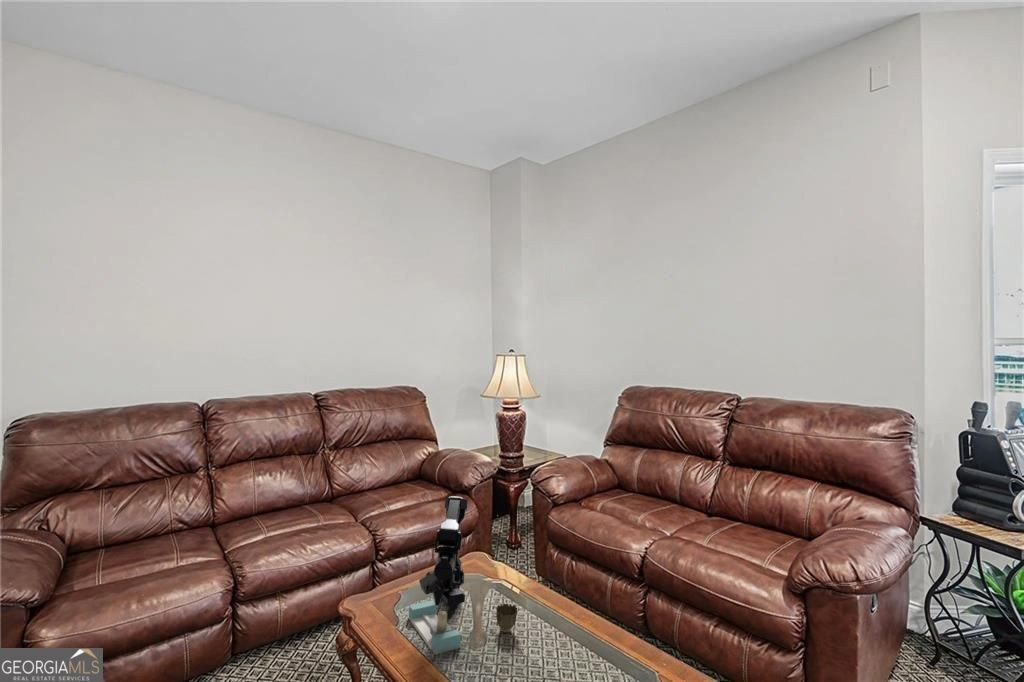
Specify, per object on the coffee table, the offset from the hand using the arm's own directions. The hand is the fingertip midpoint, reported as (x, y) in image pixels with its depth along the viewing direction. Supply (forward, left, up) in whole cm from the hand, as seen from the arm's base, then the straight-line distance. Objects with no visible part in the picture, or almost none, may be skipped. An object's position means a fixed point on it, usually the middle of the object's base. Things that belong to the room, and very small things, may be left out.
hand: (442, 612), depth 173 cm
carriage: (0, 0, -8) cm, 8 cm away
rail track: (0, -6, -10) cm, 12 cm away
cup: (-23, +4, -10) cm, 25 cm away
